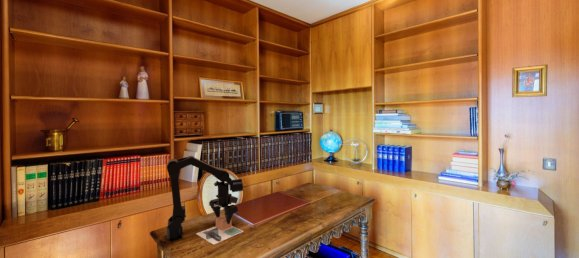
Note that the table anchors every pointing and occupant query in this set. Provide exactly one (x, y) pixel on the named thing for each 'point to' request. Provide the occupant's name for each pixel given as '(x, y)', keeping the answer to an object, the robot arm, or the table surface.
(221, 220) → the salmon orange cube
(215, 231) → the t key
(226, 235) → the panel
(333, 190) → the table surface
